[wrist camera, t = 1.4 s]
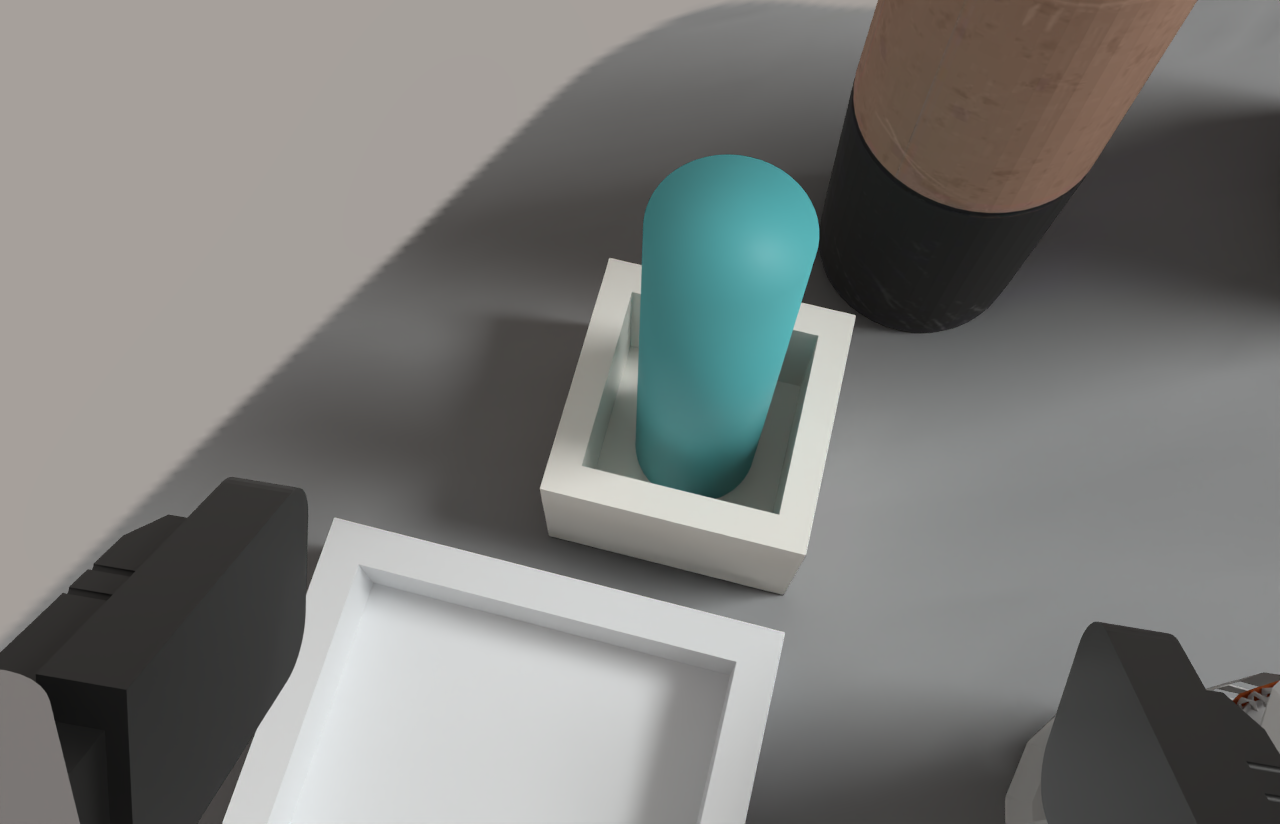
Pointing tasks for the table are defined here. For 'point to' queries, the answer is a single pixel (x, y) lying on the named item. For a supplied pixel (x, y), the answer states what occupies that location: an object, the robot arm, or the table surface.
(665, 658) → the tray
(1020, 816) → the french press
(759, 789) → the table surface
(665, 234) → the dowel
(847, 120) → the travel mug
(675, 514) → the square box
